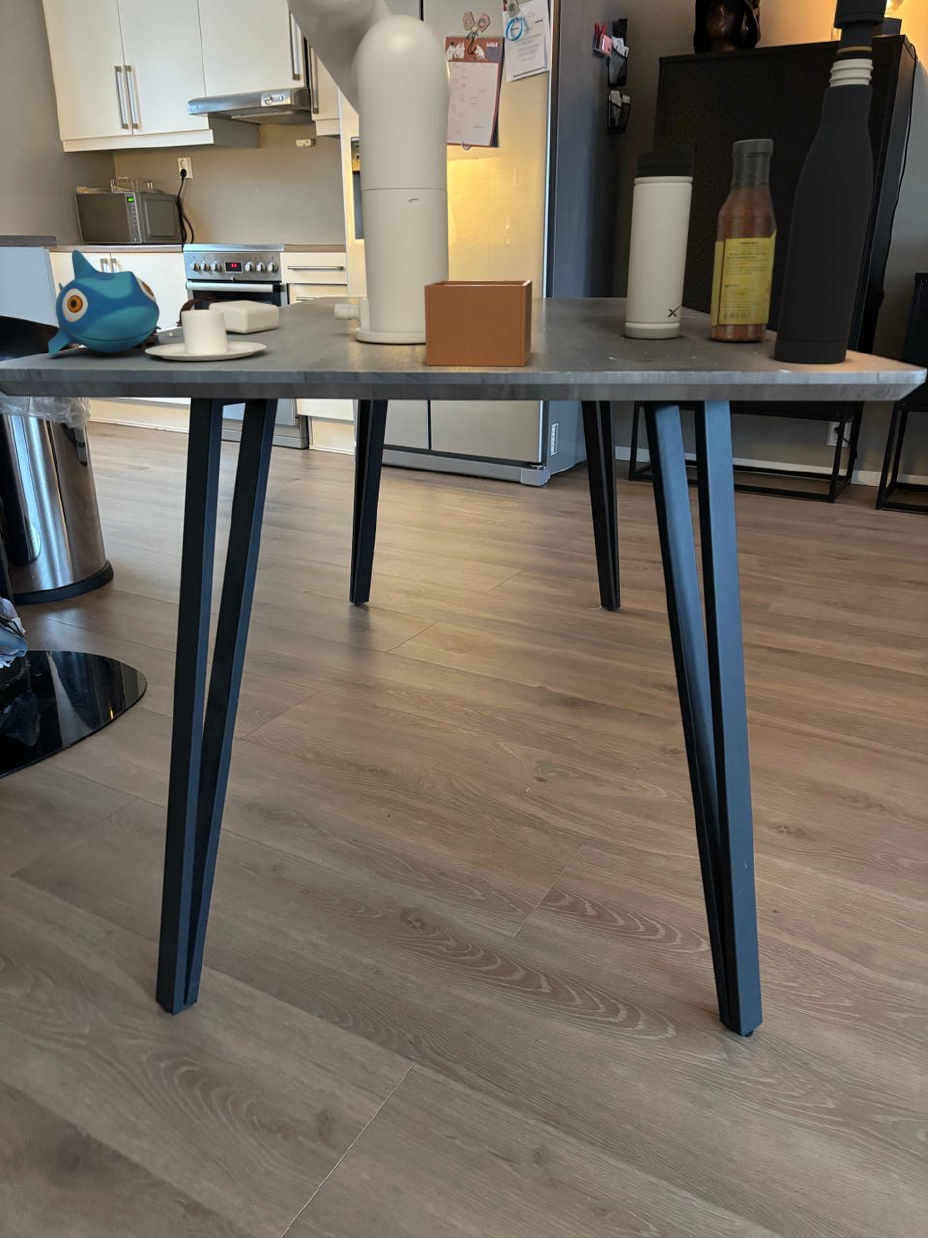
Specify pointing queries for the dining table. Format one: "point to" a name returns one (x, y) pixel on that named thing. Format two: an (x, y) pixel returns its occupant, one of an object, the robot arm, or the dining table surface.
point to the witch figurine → (177, 326)
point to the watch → (190, 303)
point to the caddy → (478, 322)
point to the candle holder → (204, 340)
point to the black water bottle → (832, 204)
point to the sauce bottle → (744, 248)
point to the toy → (103, 310)
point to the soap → (248, 316)
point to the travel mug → (659, 242)
